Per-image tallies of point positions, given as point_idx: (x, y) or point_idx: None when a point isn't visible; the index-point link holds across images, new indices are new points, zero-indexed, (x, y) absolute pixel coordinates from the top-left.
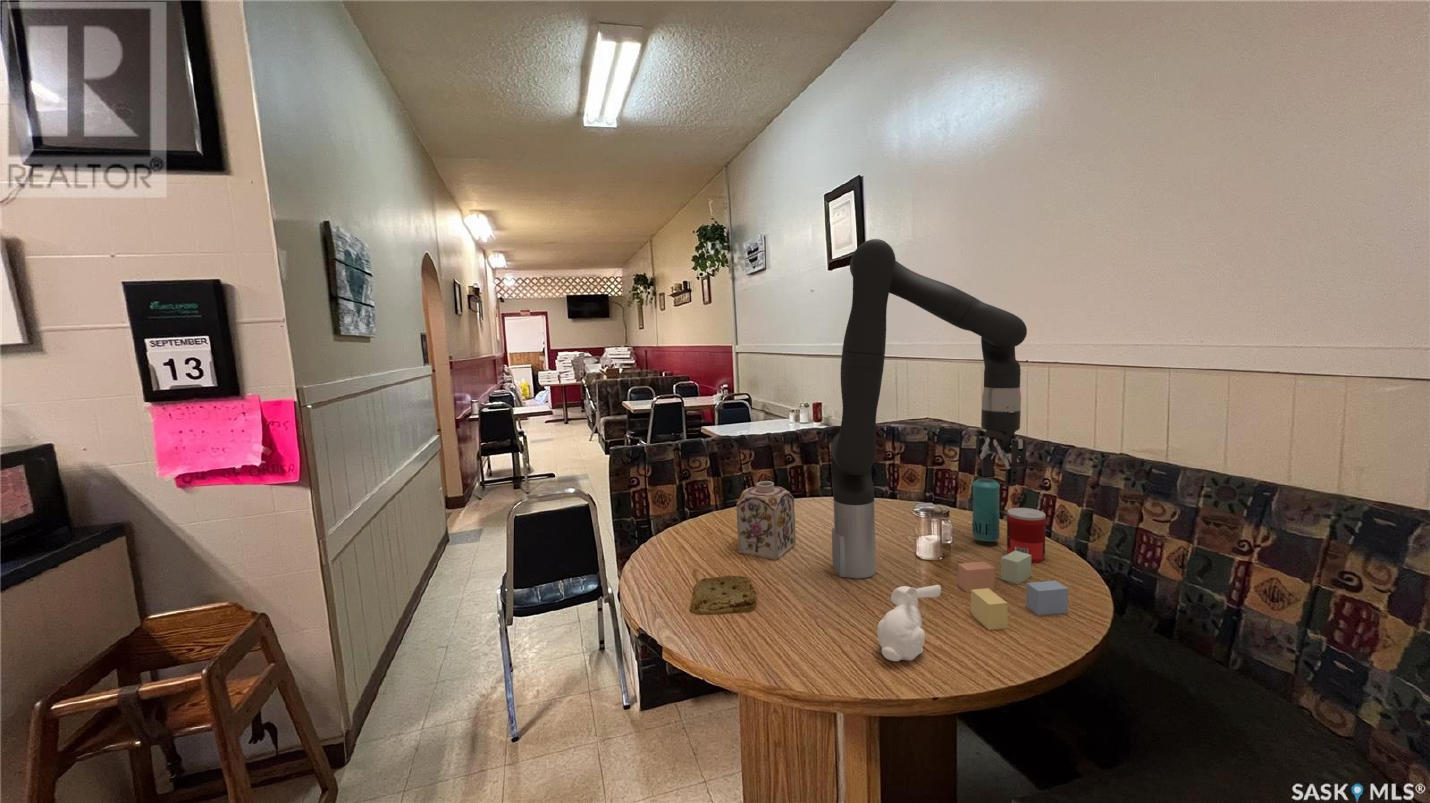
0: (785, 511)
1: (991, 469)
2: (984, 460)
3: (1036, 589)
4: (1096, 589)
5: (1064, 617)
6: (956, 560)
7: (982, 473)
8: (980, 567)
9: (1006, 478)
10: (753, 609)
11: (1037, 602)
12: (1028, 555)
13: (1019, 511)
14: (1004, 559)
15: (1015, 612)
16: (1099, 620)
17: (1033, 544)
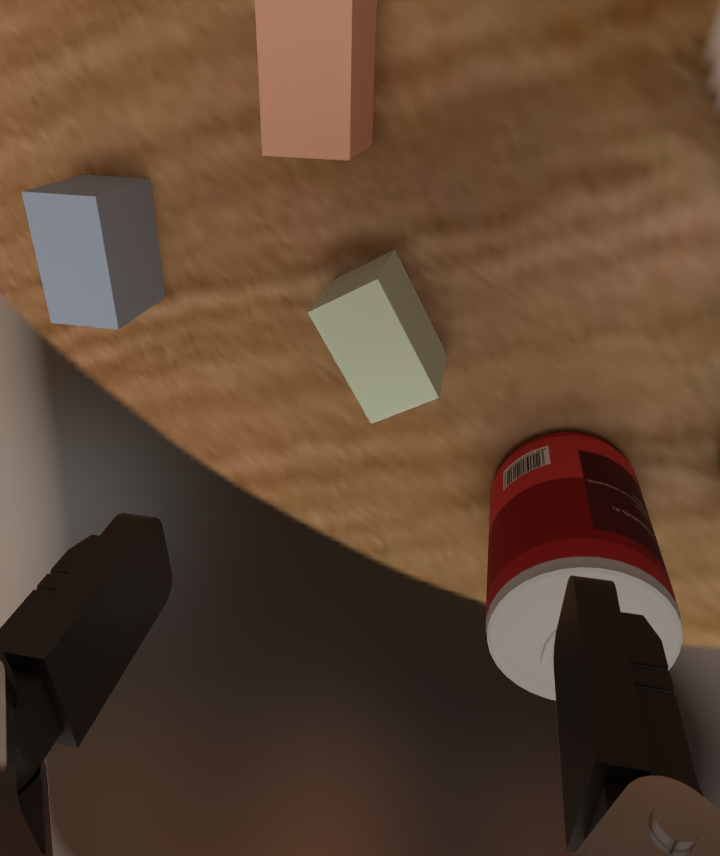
0: None
1: (561, 705)
2: (595, 766)
3: (35, 194)
4: (252, 491)
5: None
6: (658, 167)
7: (599, 589)
8: (281, 83)
9: (94, 560)
10: None
11: (57, 182)
12: (370, 409)
13: None
14: (363, 284)
15: (105, 100)
16: (60, 345)
17: (492, 519)
